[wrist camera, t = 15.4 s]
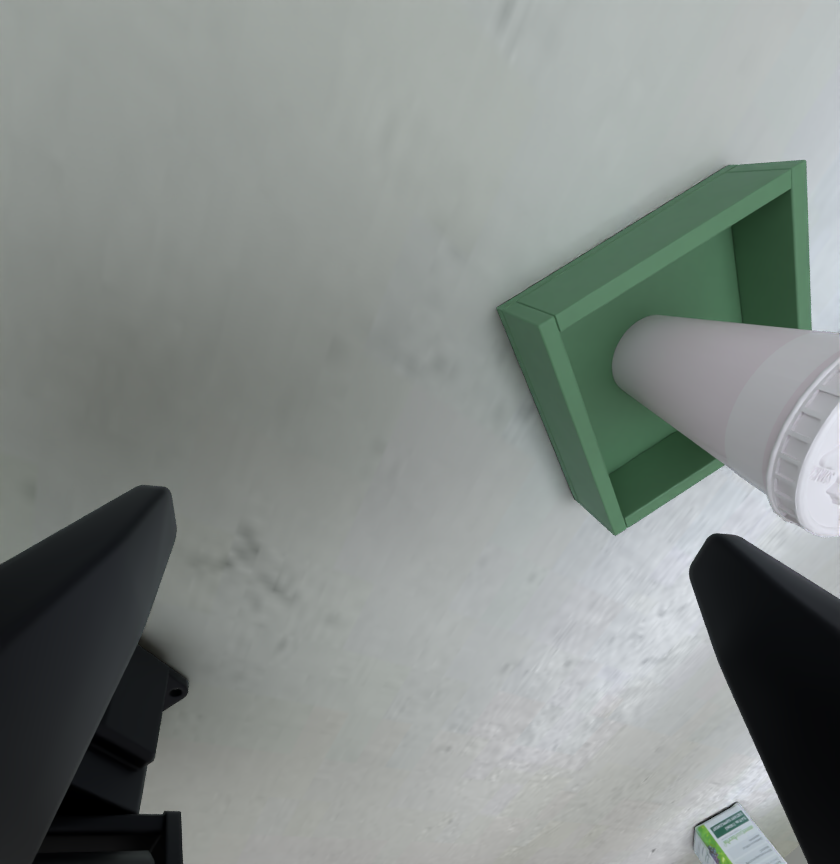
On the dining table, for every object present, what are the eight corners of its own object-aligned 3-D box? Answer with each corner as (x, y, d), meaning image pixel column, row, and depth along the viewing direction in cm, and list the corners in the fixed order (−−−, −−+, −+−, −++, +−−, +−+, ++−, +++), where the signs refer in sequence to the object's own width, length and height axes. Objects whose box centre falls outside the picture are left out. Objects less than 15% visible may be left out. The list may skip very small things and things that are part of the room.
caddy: (574, 499, 25) (615, 537, 22) (495, 307, 19) (538, 325, 17) (752, 384, 26) (814, 406, 23) (728, 164, 20) (807, 158, 17)
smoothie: (724, 345, 23) (1232, 497, 11) (630, 444, 24) (1013, 685, 12) (665, 250, 20) (1285, 320, 8) (559, 367, 21) (983, 589, 9)
